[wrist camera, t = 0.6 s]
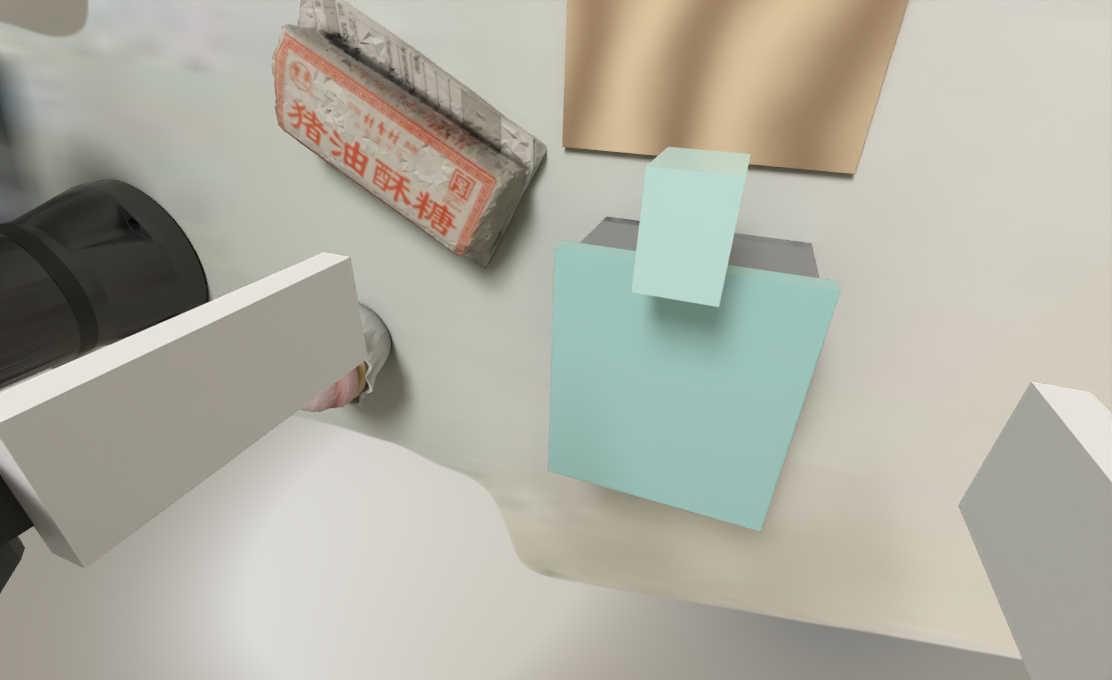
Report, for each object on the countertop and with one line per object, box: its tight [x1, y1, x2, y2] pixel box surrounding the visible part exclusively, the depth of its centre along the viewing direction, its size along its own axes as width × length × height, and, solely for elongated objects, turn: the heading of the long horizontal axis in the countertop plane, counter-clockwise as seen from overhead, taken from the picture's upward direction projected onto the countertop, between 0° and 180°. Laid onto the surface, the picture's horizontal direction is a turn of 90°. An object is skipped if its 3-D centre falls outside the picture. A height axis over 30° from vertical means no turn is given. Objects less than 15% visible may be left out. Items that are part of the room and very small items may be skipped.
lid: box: [548, 147, 840, 531], centre depth 25 cm, size 13×20×5 cm, turn 177°
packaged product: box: [272, 0, 546, 268], centre depth 33 cm, size 18×5×10 cm
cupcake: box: [301, 303, 391, 412], centre depth 41 cm, size 9×9×10 cm
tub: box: [581, 217, 819, 278], centre depth 31 cm, size 12×14×7 cm
